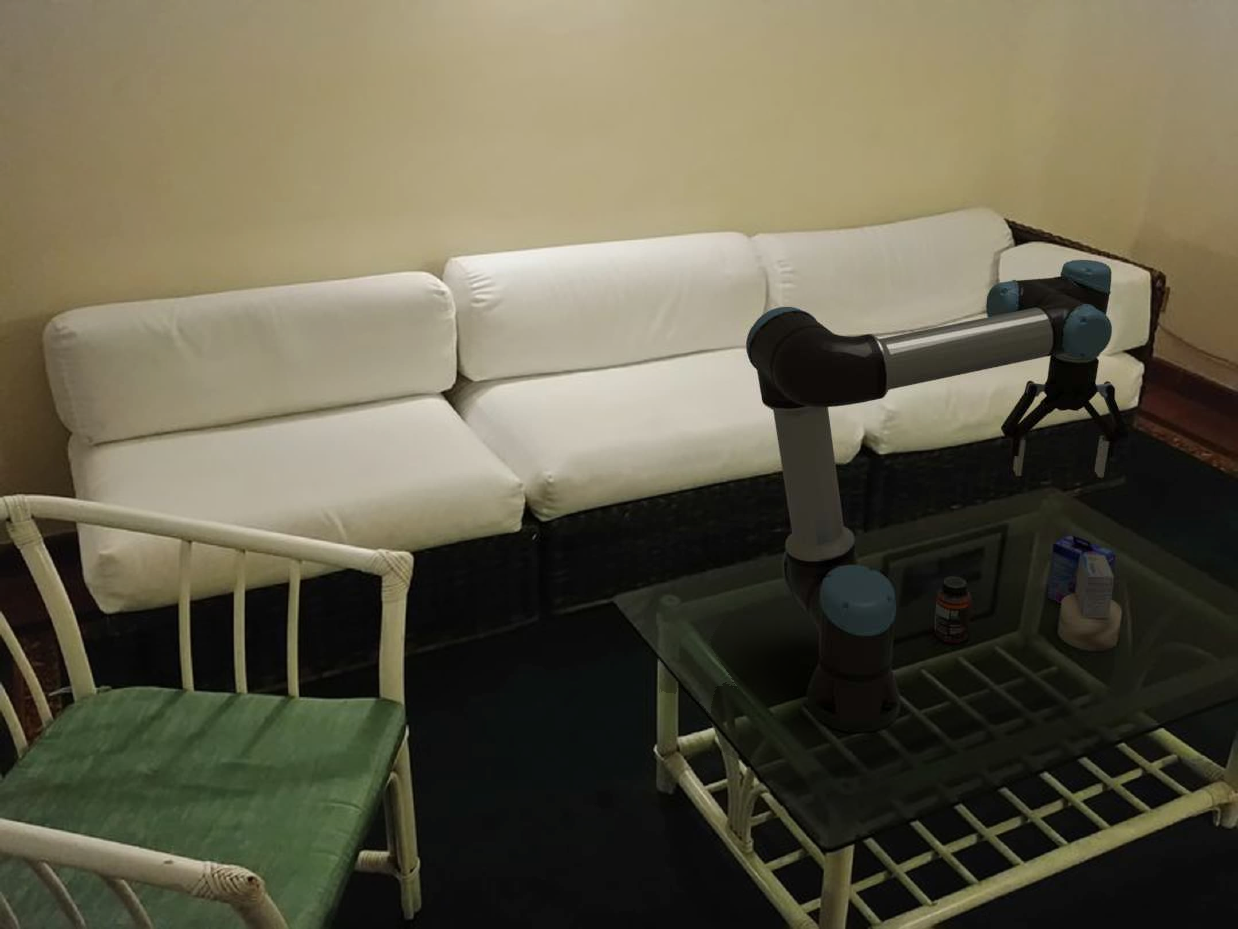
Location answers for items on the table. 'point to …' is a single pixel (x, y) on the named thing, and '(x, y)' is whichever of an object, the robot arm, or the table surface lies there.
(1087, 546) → the ink cartridge box
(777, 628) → the table surface
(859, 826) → the table surface
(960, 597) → the supplement bottle
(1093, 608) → the medicine box
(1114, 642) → the birch riser
